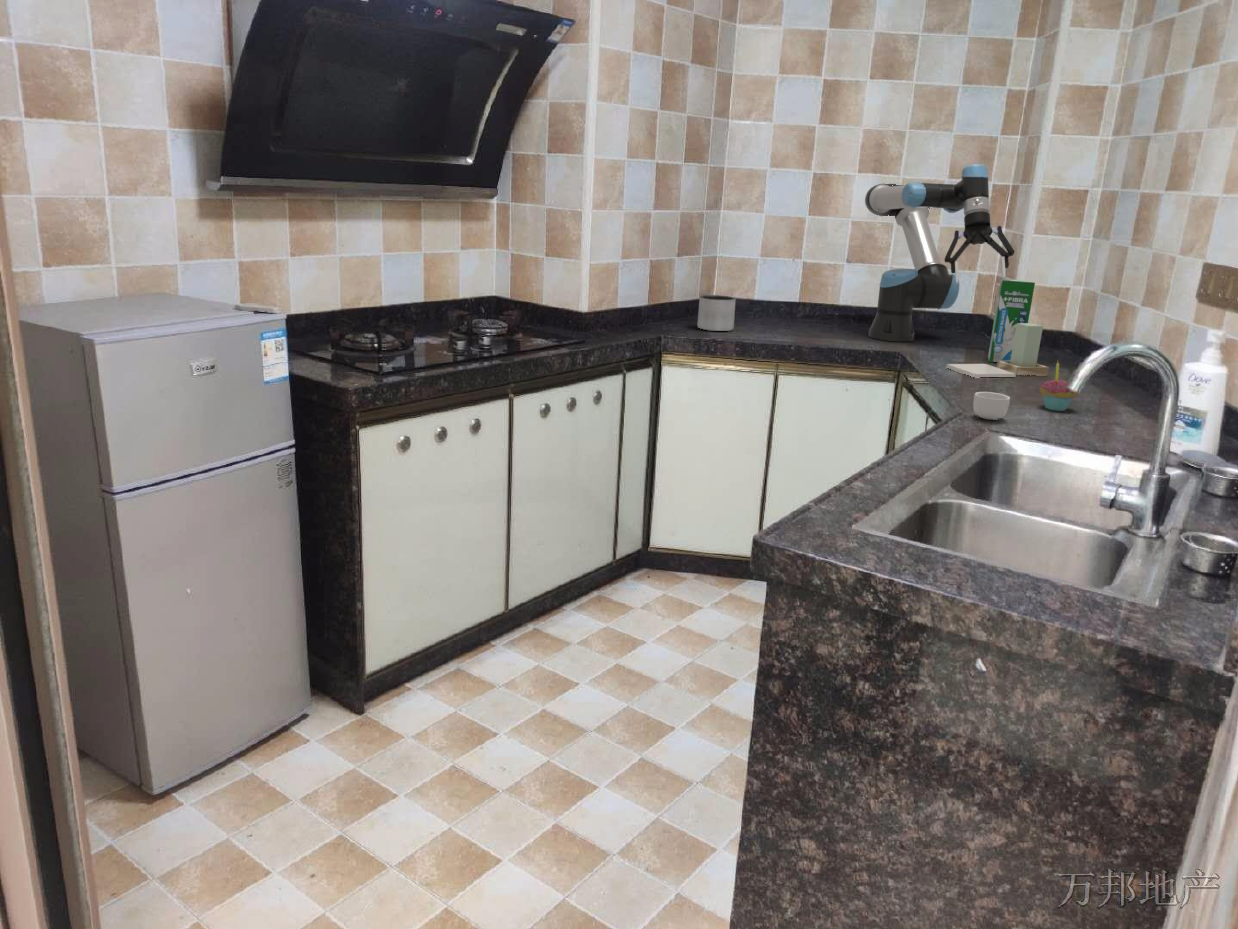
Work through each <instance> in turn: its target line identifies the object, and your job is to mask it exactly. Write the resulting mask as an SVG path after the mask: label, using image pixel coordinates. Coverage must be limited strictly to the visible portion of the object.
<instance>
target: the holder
mask: <svg viewBox="0 0 1238 929" xmlns="http://www.w3.org/2000/svg"><path fill="white" fill-rule="evenodd" d="M995 367H997V368H1000V369H1003V370H1006V371H1009V372H1012V373H1015V374H1016V375H1024V376H1023V377H1028V376H1027V375H1030V376H1029V377H1032V376H1031V375H1036V376H1035V377H1048V376H1049V371H1050V367H1049V366H1046V365H1043V364H1039V363H1036V367H1019V366H1016V365H1012V364H1010V361H997V363H996V366H995ZM1025 375H1026V376H1025Z"/></svg>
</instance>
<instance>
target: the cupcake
mask: <svg viewBox="0 0 1238 929" xmlns="http://www.w3.org/2000/svg"><path fill="white" fill-rule="evenodd" d="M1059 372H1060V363H1059V360H1057V362H1056V364H1055V379H1051V380H1047V381H1044V382H1043V383H1042V384H1040V385H1039V386H1040V387H1039V394H1042V395H1041V396H1042V398H1043V403H1044V404H1043V405H1044V408H1045V409H1047V408H1048V409H1047V410H1051V411H1057V412H1063V411H1066V410H1067V408H1068V407H1069V404H1070V403H1071V401H1073V399H1075V398H1077V397H1078V392H1077V393H1073V392H1070V391H1069V390H1068V389H1067V382H1069V381H1068V380H1063V379H1059V374H1060V373H1059Z"/></svg>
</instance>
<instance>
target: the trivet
mask: <svg viewBox="0 0 1238 929" xmlns="http://www.w3.org/2000/svg"><path fill="white" fill-rule="evenodd" d="M947 368H949V369H948V370H950V369H951V371H953V370H954V372H956V373H959V374H961V375H964V374H966V375H965V376H967V375H969V376H968V377H970V376H971V377H970V378H973V377H975V378H974V379H981V378H980V377H1015V378H1016V377H1017V376H1016V374H1015V373H1012V372H1009V371H1006V370H1003V369H1000V368H997V367H996V366H993V365H991V364H987V363H947V364H946V369H947Z"/></svg>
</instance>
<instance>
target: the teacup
mask: <svg viewBox="0 0 1238 929" xmlns="http://www.w3.org/2000/svg"><path fill="white" fill-rule="evenodd" d="M1010 402H1011V397H1010V396H1008V395H1006V394H1004V393H999V392H994V391H993V392H991V391H977V392H975V393H974V395H973V406H972V407H973V408H972V409H973V413H974V414H975V416H977V415H978V416H980V417H987V418H996V419H997V418H1002V419H1003V418H1004V417H1005V415H1007V412H1008V410H1009V407H1010ZM978 416H977V417H978Z"/></svg>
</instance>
